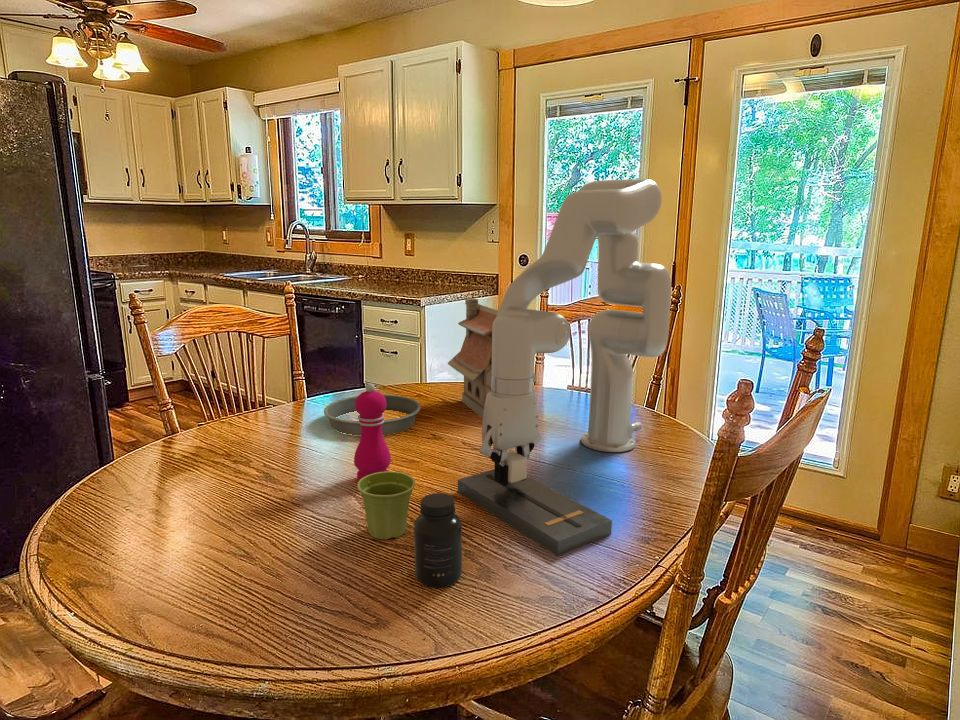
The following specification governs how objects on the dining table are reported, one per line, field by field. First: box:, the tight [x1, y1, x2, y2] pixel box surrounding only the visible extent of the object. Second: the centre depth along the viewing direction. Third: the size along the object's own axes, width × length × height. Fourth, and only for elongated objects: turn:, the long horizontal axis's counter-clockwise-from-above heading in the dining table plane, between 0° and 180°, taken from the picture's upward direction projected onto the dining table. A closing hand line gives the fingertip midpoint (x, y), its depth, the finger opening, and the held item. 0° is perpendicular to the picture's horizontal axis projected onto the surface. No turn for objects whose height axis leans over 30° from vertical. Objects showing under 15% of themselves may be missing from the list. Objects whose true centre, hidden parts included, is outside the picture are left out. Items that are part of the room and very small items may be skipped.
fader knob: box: [499, 449, 528, 486], centre depth 110 cm, size 5×4×6 cm
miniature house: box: [447, 297, 499, 419], centre depth 163 cm, size 18×24×30 cm
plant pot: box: [356, 470, 416, 540], centre depth 99 cm, size 9×9×9 cm
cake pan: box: [323, 394, 422, 436], centre depth 154 cm, size 25×25×4 cm
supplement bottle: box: [413, 492, 463, 589], centre depth 86 cm, size 7×7×12 cm
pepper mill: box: [353, 382, 392, 483], centre depth 117 cm, size 7×7×20 cm
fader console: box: [457, 469, 613, 557], centre depth 107 cm, size 28×12×3 cm, turn 36°
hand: (510, 479), depth 110 cm, fingers closed on fader knob, 3 cm apart
